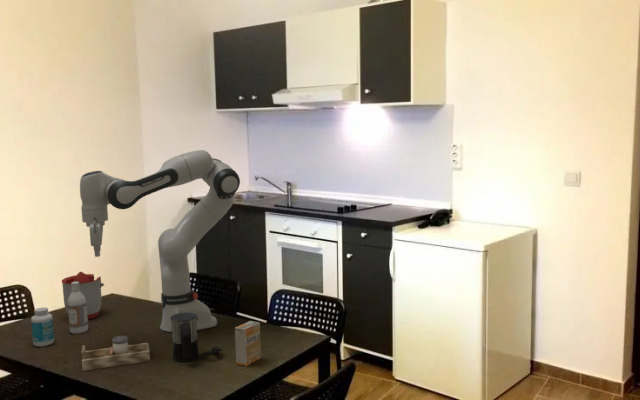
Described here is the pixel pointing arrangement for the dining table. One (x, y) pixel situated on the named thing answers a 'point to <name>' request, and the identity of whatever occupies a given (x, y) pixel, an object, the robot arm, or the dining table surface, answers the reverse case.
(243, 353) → the supplement box
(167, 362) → the dining table surface
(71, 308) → the bath foam
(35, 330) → the pill bottle
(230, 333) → the dining table surface
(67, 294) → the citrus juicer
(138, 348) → the wooden tray
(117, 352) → the cream jar
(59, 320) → the dining table surface
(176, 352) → the milk frother
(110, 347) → the block
